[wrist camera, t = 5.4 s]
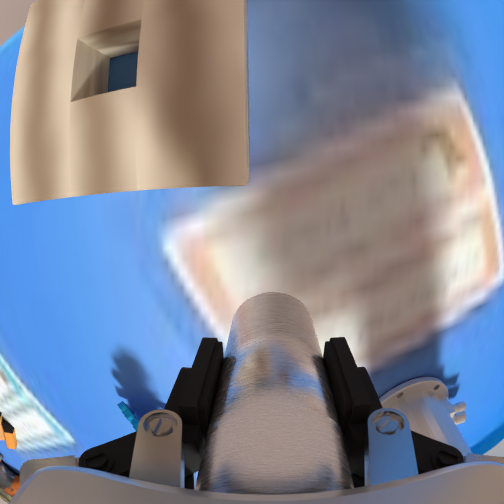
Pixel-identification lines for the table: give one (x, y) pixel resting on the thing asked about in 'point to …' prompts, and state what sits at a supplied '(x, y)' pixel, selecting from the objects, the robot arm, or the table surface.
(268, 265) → the table surface
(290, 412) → the steel peg
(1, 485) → the orange lumpy piece
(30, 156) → the hole block
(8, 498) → the ceramic cup
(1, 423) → the pan flute
